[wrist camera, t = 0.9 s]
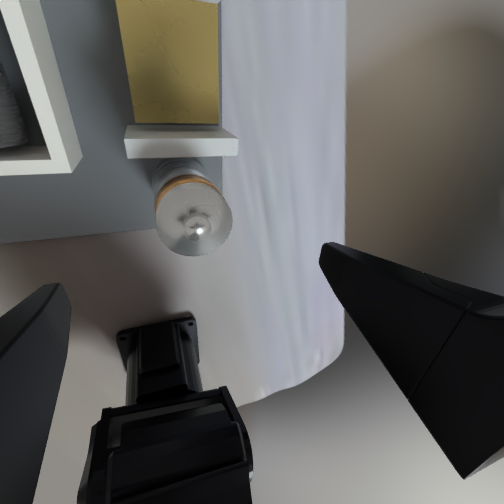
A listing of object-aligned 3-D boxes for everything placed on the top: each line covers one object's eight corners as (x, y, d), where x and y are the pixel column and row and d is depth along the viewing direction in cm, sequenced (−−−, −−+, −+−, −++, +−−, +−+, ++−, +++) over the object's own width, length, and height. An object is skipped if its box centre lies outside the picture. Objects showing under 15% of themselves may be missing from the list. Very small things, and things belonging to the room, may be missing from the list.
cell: (208, 205, 18) (235, 256, 13) (155, 210, 17) (162, 267, 12) (206, 153, 16) (236, 189, 11) (147, 154, 15) (150, 195, 10)
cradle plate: (214, 120, 15) (218, 123, 14) (135, 119, 13) (135, 122, 13) (212, 8, 12) (217, 3, 11) (115, -7, 11) (113, -13, 10)
